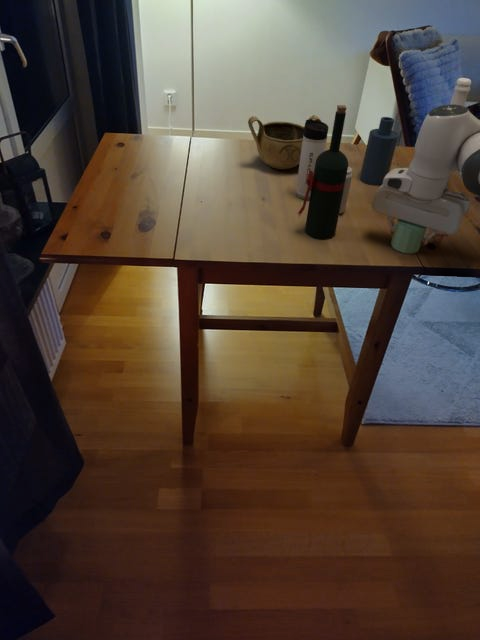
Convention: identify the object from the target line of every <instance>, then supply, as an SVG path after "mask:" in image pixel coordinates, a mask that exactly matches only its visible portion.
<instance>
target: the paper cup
mask: <svg viewBox="0 0 480 640" xmlns="http://www.w3.org/2000/svg"><path fill="white" fill-rule="evenodd" d="M395 225H396V228H395V232H394V234H392V238H391V242H390V246H391V248H393V249H394V250H395V251H397V252H399V253H403V254H415V253H418V252H419V250H420V247H421V245H422V243H421V240H422V237H423V236H424V234H426V232H427V229H428V228H427V227H424V226H420V225H417V224H414V223H410V222H407V221H404V220H401V219H397V222H396V224H395Z"/></svg>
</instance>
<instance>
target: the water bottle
mask: <svg viewBox="0 0 480 640" xmlns="http://www.w3.org/2000/svg"><path fill="white" fill-rule="evenodd" d="M394 123H395V119H394V118H393V117H390V116H381V118H380V120H379V125H378V128H374V129H371V130H370V131H369V134H368V137H367V138H368V139H367V142H366V146H365V152H364V156H363V161H362V165H361V169H360V174H359V180H360V181H361V182H362V183H364V184H367V185H370V186H381V185H382V184H383V179H384V177H385V176H386V175H387V173H389V172H390V171H391V166H392V163H393V158H394V155H395V151H396V147H397V145H398V144H397V143H398V141H399V140H398V139H399V133H397V132H396V131H394V130H393V127H394Z"/></svg>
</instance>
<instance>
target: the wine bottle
mask: <svg viewBox="0 0 480 640" xmlns="http://www.w3.org/2000/svg"><path fill="white" fill-rule="evenodd" d="M346 111H347V106H346V105H344V104H337V105H336V111H335V115H334V120H333V126H332V131H331V139H330V145H329V148H328V149H325V151H324V152H322V153H321V154H320V155H319V156H318V157H317V159H316V163H315V169H314V175H313V172H312V171H311V170H309V177H307V185H308V188H307V192H306V196H305V199H303V204H302V205H301V208H300V209H299V211H298V212H297V215H298V217H300V216H301V215H302V213H303V212H304V211H305V208H306V205H307V201H308V208H307V214H306V221H305V226H304V233H305V234H306V236H308V237H310V238H312V239H316V240H321V241H325V240H331V239H333V238H334V237H335V236H336V232H337V226H338V221H339V217H340V214H339V211H340V206H341V201H342V196H343V191H344V186H345V180H346V175H347V170H348V166H349V160H348V158H347V155H346V154H345V153H344V152H343V151H341V150H340V149H341V144H342V143H341V142H342V138H343V133H344V132H343V131H344V127H345V120H346V116H347V112H346ZM309 191H311V194H310V200H307V198H308V195H309Z"/></svg>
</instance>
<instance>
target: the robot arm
mask: <svg viewBox="0 0 480 640" xmlns="http://www.w3.org/2000/svg"><path fill="white" fill-rule="evenodd" d="M453 172H460V176H461V180H462V183H463V186H464V188H465V189H466V190H467V191H468V192H469V193H471V194H473V195H475V196H479V197H480V119H479V118H477V117H476V116H475V115H474V114H473V113H472V112H471V111H470V109H469V108H468V107H466V106H465V105H464V106H461V105H455V104H450V103H449V104H443V105H439V106H436V107H434V108H432V109H431V110H430V111H428V113H427V115H426V116H425V118H424V120H423V122H422V124H421V127H420V129H419V132H418V135H417V138H416V142H415V145H414V153H413V157H412V159H411V162H410V163H409V165H408V167H395V168H392V169H390V170H389V173H387V175H386V176H385V177H384V179H383V184H382V185H379V187H378V188H377V190H376V192H375V194H374V197H373V200H372V203H371V209H372V211H373V212H374V213H379V214H381V215H385V216H387V218H386V219H387V224H388V226H389V228H388V232H387V233H389V234H392V235H394V232H395V228H396V225H397V224H396V223H395V219H397V220H398V219H401V220H404V221H407V222H410V223H414V224H417V225H420V226H424V227H427V228H426V229H429V233H428V234H427V233H425V234H424V236H423V237H422V240H421V244H423V245H427V244H428V243H429V241H430V239H431V238H432V237H433V236H435V235H436V234H437V233H438V232H440V233H443V234H447V235H449V236H453V235H455V234H456V233H458V231H459V229H460V227H461V224H462V222H463V218H464V214H467V213H468V211H469V209H470V206H471V199H470V198H469V197H468V196H467V194H466V193H463V192H457V191H455V190H452V189H448V188H447V186H448V183H449V180H450V177H451V175H452V173H453Z"/></svg>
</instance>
